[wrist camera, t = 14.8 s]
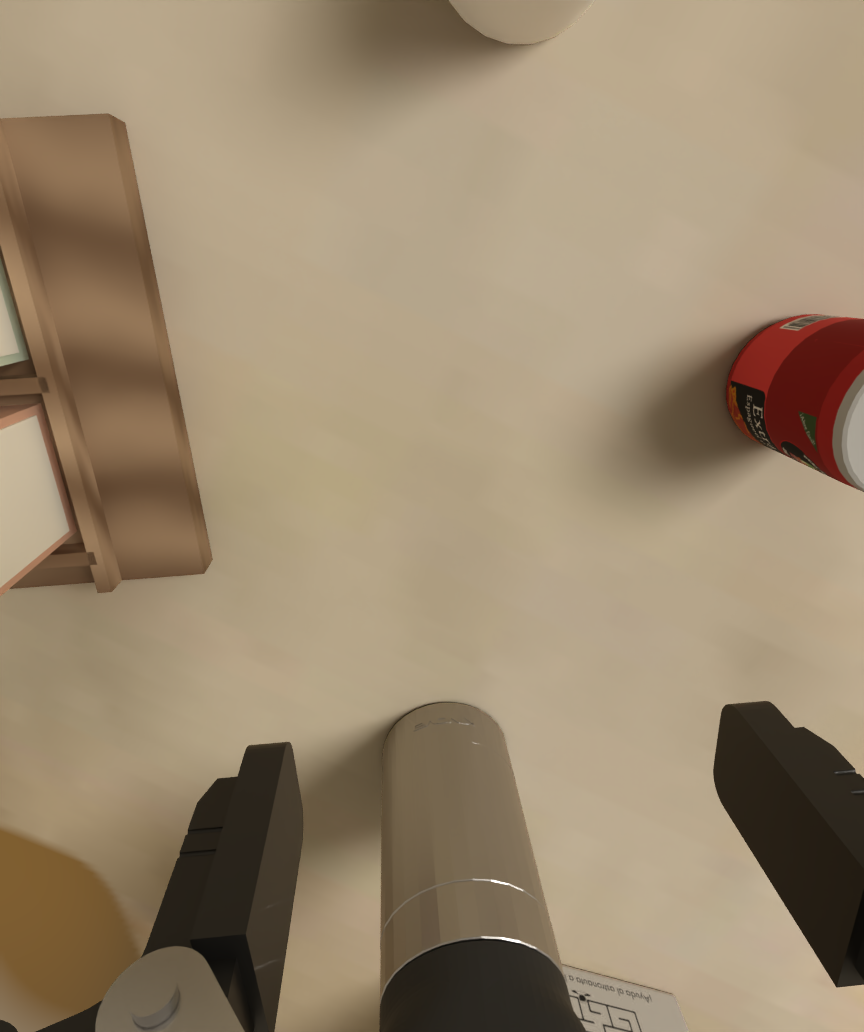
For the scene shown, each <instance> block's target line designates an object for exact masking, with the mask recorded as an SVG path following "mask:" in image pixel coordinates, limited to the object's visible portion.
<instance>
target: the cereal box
mask: <svg viewBox="0 0 864 1032" xmlns="http://www.w3.org/2000/svg"><path fill="white" fill-rule="evenodd" d="M562 968H563V972H564V976H565V981H566V985H567V988H568V992H569V996H570V1000H571V1004H572V1007H573V1010H574V1012H575V1014H576V1015H577V1016H578V1018H579V1019H580V1021H581V1023H582V1024H583V1026H584V1028H585V1030H586V1032H689V1030H688V1027H687V1025H686V1022H685V1020H684V1017H683V1014H682V1012H681V1009H680V1007H679V1004H678V1002H677V999H676V997H675V996H674V995H673V994H670V993H666V992H663V991H659V990H655V989H651V988H648V987H644V986H640V985H636V984H633V983H629V982H625V981H622V980H618V979H614V978H610V977H607V976H603V975H599V974H595V973H592V972H588V971H584V970H580V969H577V968H573V967H569V966H565V965H562Z"/></svg>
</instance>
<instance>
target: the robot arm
mask: <svg viewBox="0 0 864 1032" xmlns="http://www.w3.org/2000/svg"><path fill="white" fill-rule="evenodd" d="M713 774H714V782H715V787H716V790H717V794H718V796H719V799H720V801H721V803H722V805H723V806H724V808H725V810H726V811H727V813H728V815H729V816H730V818H731V819H732V821H733V822H734V824H735V826H736V827H737V829H738V830H739V832H740V834H741V835H742V837H743V838H744V840H745V842H746V843H747V845H748V846H749V848H750V850H751V851H752V853H753V854H754V856H755V858H756V859H757V861H758V862H759V864H760V866H761V867H762V869H763V870H764V872H765V874H766V875H767V877H768V878H769V880H770V882H771V883H772V885H773V886H774V888H775V890H776V891H777V893H778V894H779V896H780V898H781V899H782V901H783V902H784V904H785V906H786V907H787V909H788V910H789V912H790V914H791V915H792V917H793V918H794V920H795V922H796V923H797V925H798V926H799V928H800V930H801V931H802V933H803V934H804V936H805V938H806V939H807V941H808V942H809V944H810V946H811V947H812V949H813V950H814V952H815V954H816V955H817V957H818V958H819V960H820V962H821V963H822V965H823V966H824V968H825V970H826V971H827V973H828V974H829V976H830V978H831V979H832V981H833V982H834V984H835V986H836V987H845V986H855V985H864V778H863V777H862V776H861V775H860V774H856V772H855V768H854V767H853V766H852V765H851V764H850V763H849V762H848V761H847V760H846V759H845V758H844V757H843V756H842V755H841V753H840V752H839V751H838V750H837V749H836V748H835V747H834V746H833V745H831V744H830V743H828V742H826V741H825V740H823V739H822V738H820V737H819V736H817V735H815V734H814V733H812V732H811V731H809V730H808V729H806V728H804V727H799V728H794V727H793V726H792V725H791V723H790V722H789V721H788V720H787V719H786V718H785V717H784V716H783V714H782V713H781V712H780V711H779V710H778V709H777V708H776V707H775V706H774V705H773V704H772V703H770V702H768V701H761V702H749V703H738V704H728V705H725V706H724V708H723V709H722V712H721V718H720V725H719V732H718V739H717V746H716V754H715V761H714V769H713ZM302 840H303V809H302V801H301V796H300V790H299V784H298V778H297V772H296V766H295V760H294V754H293V749H292V745H291V743H290V742H282V743H271V744H259V745H249V746H248V747H247V748H246V751H245V754H244V757H243V760H242V764H241V767H240V771H239V774H238V777H230V778H219V779H217V780H216V781H215V782H214V783H213V785H212V786H211V787H210V788H209V789H208V791H207V792H206V793H205V794H204V795H203V797H202V798H201V799H200V800H199V801H198V803H197V805H196V808H195V811H194V814H193V816H192V819H191V822H190V825H189V828H188V835H186V836H185V839H184V842H183V845H182V847H181V850H180V857H179V858H178V859H177V861H176V864H175V867H174V870H173V873H172V876H171V878H170V881H169V884H168V887H167V890H166V892H165V895H164V898H163V901H162V904H161V906H160V909H159V912H158V915H157V918H156V921H155V923H154V926H153V929H152V932H151V935H150V937H149V940H148V943H147V946H146V948H145V950H144V953H143V955H142V957H141V958H140V959H138V960H137V961H136V962H135V963H133V964H132V965H130V966H129V967H128V968H127V969H126V970H125V971H124V972H123V973H122V974H120V976H119V977H118V978H117V979H116V980H115V982H114V983H113V984H112V985H111V987H110V988H109V990H108V991H107V993H106V995H105V997H104V999H103V1000H102V1001H100V1002H99V1003H97V1004H95V1005H94V1006H92V1007H91V1008H89V1009H87V1010H85V1011H83V1012H81V1013H78V1014H76V1015H74V1016H71V1017H69V1018H67V1019H64V1020H62V1021H60V1022H57V1023H55V1024H53V1025H50V1026H48V1027H46V1028H43V1029H41V1030H39V1031H36V1032H274V1030H275V1023H276V1017H277V1010H278V1003H279V996H280V990H281V983H282V976H283V969H284V963H285V956H286V949H287V942H288V936H289V929H290V922H291V915H292V908H293V902H294V895H295V888H296V881H297V875H298V868H299V861H300V854H301V848H302ZM380 950H381V970H380V1032H586V1030H585V1028H584V1026H583V1024H582V1023H581V1021H580V1019H579V1018H578V1016H577V1015H576V1014H575V1012H574V1010H573V1007H572V1004H571V1000H570V996H569V992H568V988H567V985H566V981H565V976H564V972H563V968H562V964H561V960H560V956H559V952H558V948H557V944H556V940H555V937H554V933H553V929H552V925H551V921H550V918H549V914H548V910H547V906H546V902H545V898H544V894H543V890H542V886H541V882H540V878H539V874H538V870H537V866H536V862H535V858H534V854H533V850H532V846H531V842H530V838H529V834H528V830H527V826H526V822H525V818H524V814H523V810H522V806H521V802H520V798H519V794H518V790H517V786H516V782H515V777H514V773H513V769H512V765H511V761H510V757H509V754H508V750H507V746H506V742H505V738H504V735H503V732H502V731H501V729H500V727H499V725H498V724H497V723H496V722H495V721H494V720H493V719H492V718H491V717H490V716H489V715H487V714H486V713H484V712H483V711H481V710H479V709H477V708H474V707H472V706H469V705H465V704H459V703H437V704H432V705H427V706H424V707H422V708H419V709H416V710H414V711H413V712H411V713H409V714H407V715H406V716H404V717H403V718H402V719H401V720H400V721H399V722H397V723H396V724H395V725H394V727H393V728H392V729H391V731H390V732H389V734H388V736H387V738H386V740H385V743H384V747H383V753H382V816H381V937H380ZM0 1032H18V1031H17V1030H16V1028H15V1027H14V1026H12V1025H11V1024H10V1023H8V1022H5V1021H3V1020H0Z"/></svg>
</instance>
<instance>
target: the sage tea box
mask: <svg viewBox="0 0 864 1032" xmlns="http://www.w3.org/2000/svg"><path fill="white" fill-rule="evenodd" d="M28 359H29V357H28V353H27V350H26V346H25V343H24V339H23V336H22V332H21V328H20V325H19V321H18V318H17V314H16V311H15V307H14V304H13V300H12V297H11V293H10V290H9V286H8V283H7V279H6V276H5V272H4V269H3V265H2V262H1V258H0V366H4V365H8V364H12V363H16V362H20V361H24V360H28Z"/></svg>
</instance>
